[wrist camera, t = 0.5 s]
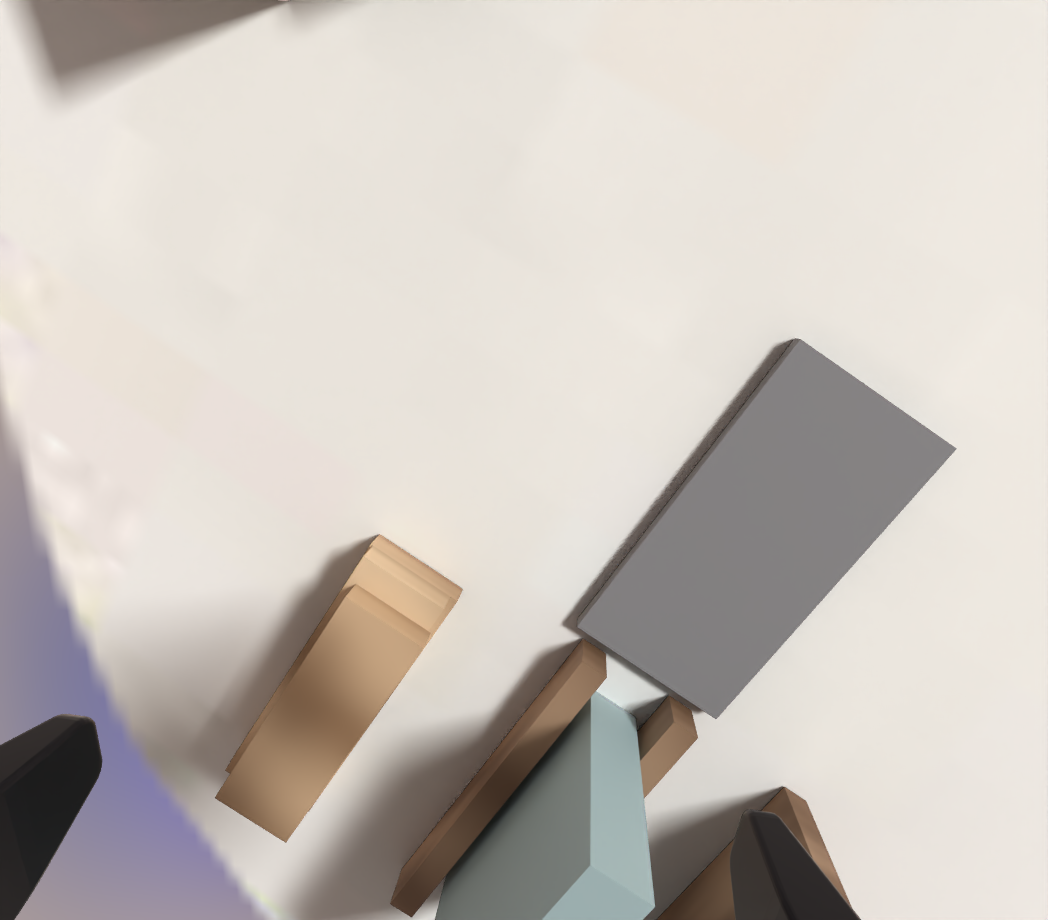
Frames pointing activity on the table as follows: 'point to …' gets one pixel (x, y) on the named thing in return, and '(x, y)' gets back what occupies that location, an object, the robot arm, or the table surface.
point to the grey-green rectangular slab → (564, 834)
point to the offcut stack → (337, 686)
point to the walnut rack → (662, 740)
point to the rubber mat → (763, 528)
